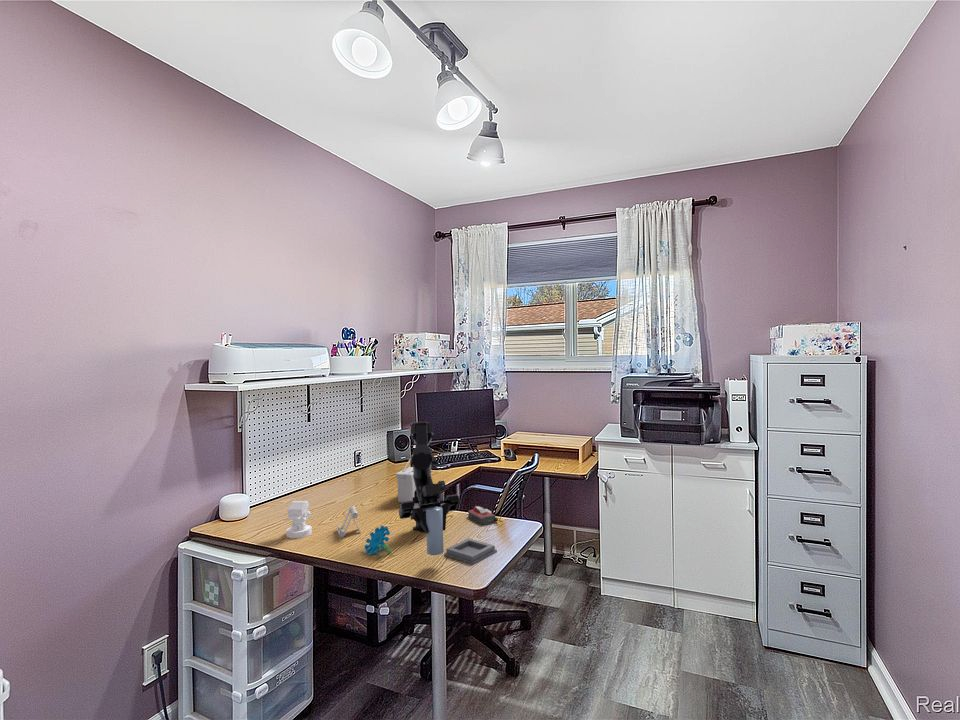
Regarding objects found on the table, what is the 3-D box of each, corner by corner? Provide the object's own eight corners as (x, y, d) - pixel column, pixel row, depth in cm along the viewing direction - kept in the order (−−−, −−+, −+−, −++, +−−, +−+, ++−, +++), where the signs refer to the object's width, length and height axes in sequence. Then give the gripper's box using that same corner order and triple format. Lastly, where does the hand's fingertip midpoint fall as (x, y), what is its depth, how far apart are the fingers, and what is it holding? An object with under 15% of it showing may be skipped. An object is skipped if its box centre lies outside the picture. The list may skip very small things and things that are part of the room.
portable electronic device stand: (337, 530, 182) (336, 508, 182) (358, 527, 184) (358, 505, 184) (339, 538, 174) (338, 514, 174) (361, 535, 176) (361, 511, 176)
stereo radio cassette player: (412, 504, 211) (411, 458, 211) (395, 503, 214) (394, 458, 214) (431, 491, 231) (429, 449, 231) (415, 491, 234) (413, 449, 234)
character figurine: (315, 530, 183) (314, 498, 183) (303, 539, 173) (302, 505, 173) (293, 529, 184) (292, 497, 184) (280, 539, 174) (279, 505, 174)
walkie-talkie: (503, 522, 186) (477, 509, 204) (502, 511, 186) (477, 498, 204) (483, 527, 182) (458, 513, 199) (482, 515, 182) (458, 502, 199)
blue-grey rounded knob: (423, 552, 148) (422, 509, 148) (435, 547, 152) (434, 505, 152) (435, 556, 145) (434, 512, 145) (446, 551, 149) (445, 508, 149)
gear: (358, 544, 162) (379, 519, 166) (370, 553, 165) (390, 528, 169) (371, 559, 153) (393, 533, 157) (383, 568, 156) (404, 542, 160)
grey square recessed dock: (444, 555, 156) (444, 548, 156) (468, 543, 165) (468, 537, 165) (473, 564, 148) (473, 557, 148) (497, 551, 158) (496, 545, 158)
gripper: (399, 476, 148) (410, 523, 138) (457, 469, 156) (471, 513, 145) (394, 495, 156) (404, 541, 145) (449, 487, 163) (462, 531, 153)
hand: (436, 531), depth 147 cm, fingers closed on blue-grey rounded knob, 5 cm apart
